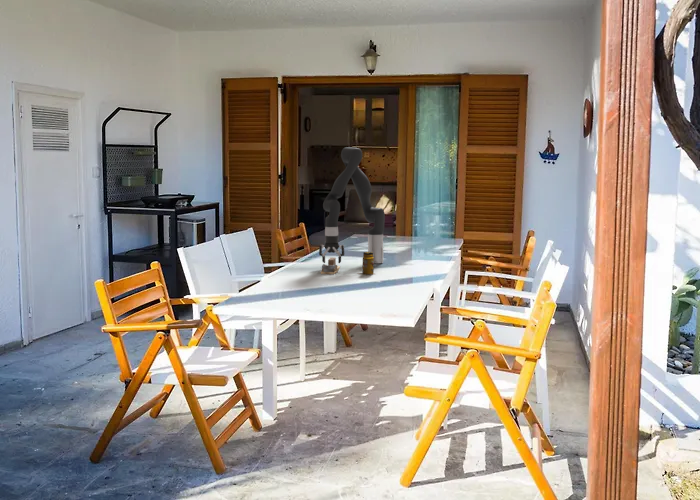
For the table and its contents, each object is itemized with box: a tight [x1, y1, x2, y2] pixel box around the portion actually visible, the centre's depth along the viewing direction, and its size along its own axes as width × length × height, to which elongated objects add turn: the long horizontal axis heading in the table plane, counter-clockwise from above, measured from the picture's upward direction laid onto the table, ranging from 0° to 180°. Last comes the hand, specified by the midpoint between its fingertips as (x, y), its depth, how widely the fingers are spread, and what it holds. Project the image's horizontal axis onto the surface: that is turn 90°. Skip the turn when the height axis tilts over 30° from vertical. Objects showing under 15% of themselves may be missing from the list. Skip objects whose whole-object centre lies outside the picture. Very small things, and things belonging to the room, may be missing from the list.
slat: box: [327, 257, 337, 265], centre depth 396 cm, size 10×3×5 cm, turn 174°
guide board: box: [320, 263, 341, 275], centre depth 391 cm, size 8×22×4 cm, turn 174°
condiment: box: [356, 251, 375, 276], centre depth 379 cm, size 7×8×12 cm
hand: (331, 263), depth 396 cm, fingers open, 8 cm apart
